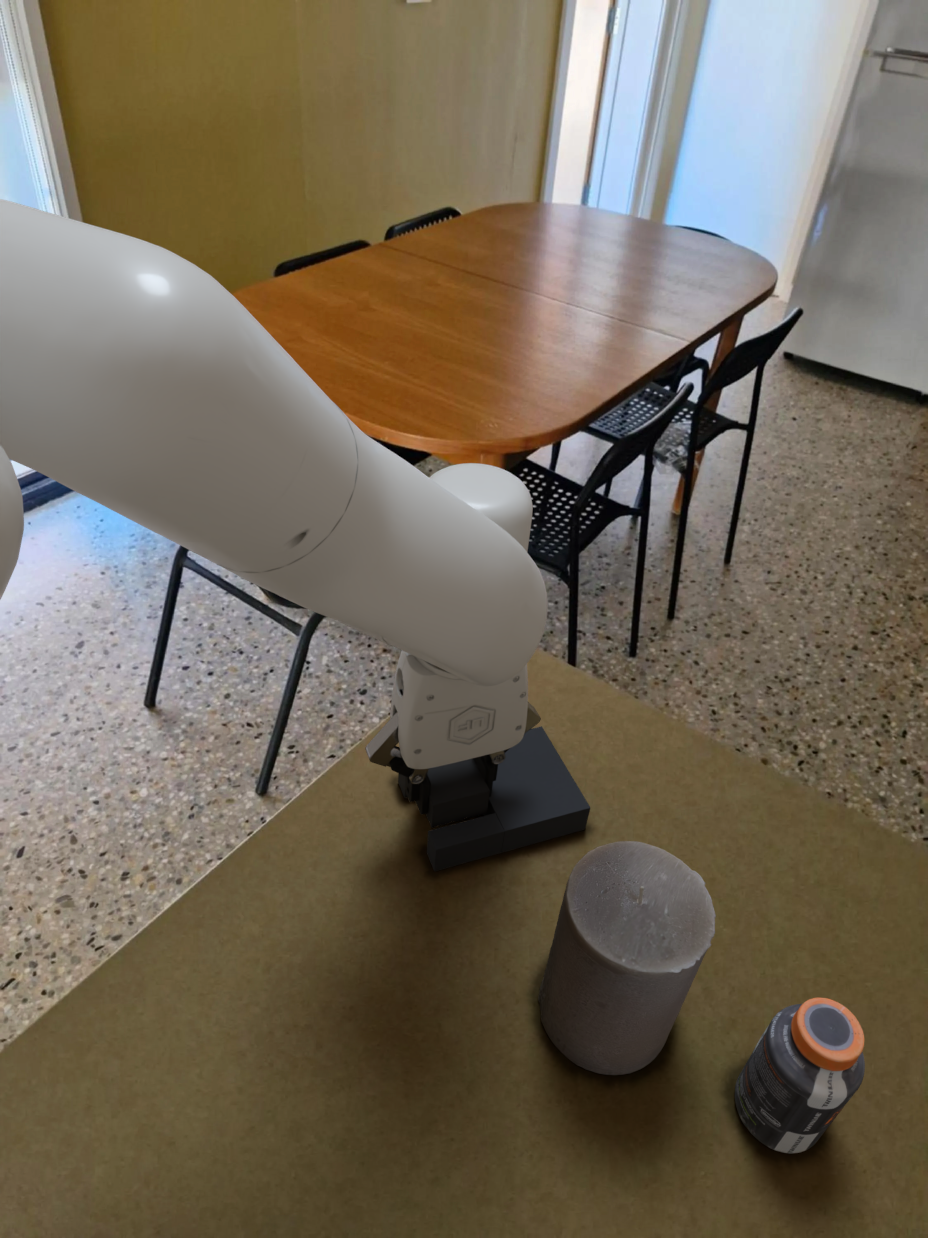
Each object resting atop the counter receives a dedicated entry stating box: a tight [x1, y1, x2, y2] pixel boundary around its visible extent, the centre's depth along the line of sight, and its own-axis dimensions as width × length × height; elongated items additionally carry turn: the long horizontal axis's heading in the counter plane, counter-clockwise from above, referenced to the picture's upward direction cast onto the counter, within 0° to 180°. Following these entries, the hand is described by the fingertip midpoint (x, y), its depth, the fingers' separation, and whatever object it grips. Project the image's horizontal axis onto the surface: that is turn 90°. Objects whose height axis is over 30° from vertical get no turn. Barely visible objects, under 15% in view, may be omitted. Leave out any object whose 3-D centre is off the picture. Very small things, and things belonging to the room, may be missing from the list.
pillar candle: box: [537, 840, 717, 1076], centre depth 60 cm, size 10×10×15 cm
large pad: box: [397, 726, 591, 872], centre depth 78 cm, size 14×10×3 cm
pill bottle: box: [734, 997, 866, 1154], centre depth 57 cm, size 6×6×11 cm
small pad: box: [425, 758, 490, 829], centre depth 75 cm, size 5×5×3 cm
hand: (450, 791), depth 76 cm, fingers closed on small pad, 4 cm apart
